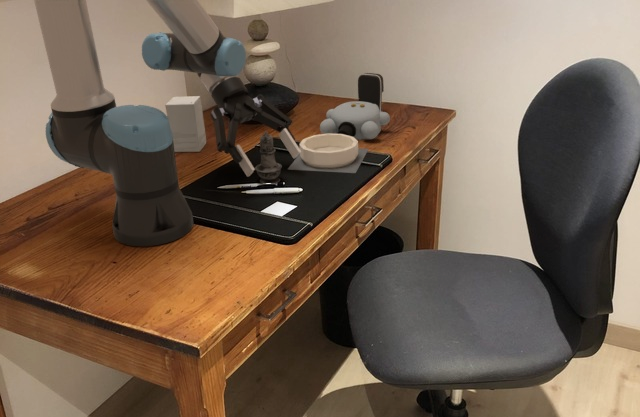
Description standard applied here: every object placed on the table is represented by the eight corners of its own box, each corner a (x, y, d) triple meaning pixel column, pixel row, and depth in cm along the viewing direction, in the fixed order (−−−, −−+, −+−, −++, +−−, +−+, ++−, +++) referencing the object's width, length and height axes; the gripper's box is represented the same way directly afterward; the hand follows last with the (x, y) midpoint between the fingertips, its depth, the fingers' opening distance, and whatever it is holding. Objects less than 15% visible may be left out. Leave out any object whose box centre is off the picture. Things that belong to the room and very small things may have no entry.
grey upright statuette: (286, 177, 151) (282, 126, 145) (278, 188, 145) (274, 135, 140) (261, 176, 152) (257, 125, 147) (252, 186, 147) (247, 134, 142)
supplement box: (207, 142, 175) (201, 95, 170) (200, 152, 168) (193, 103, 163) (179, 142, 176) (173, 95, 171) (171, 152, 169) (164, 104, 164)
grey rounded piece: (335, 119, 187) (311, 151, 171) (333, 91, 183) (308, 120, 167) (396, 123, 181) (377, 156, 166) (395, 94, 177) (375, 124, 161)
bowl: (351, 170, 152) (350, 154, 150) (294, 167, 155) (293, 151, 153) (362, 150, 163) (362, 134, 162) (309, 147, 167) (308, 132, 165)
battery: (385, 112, 193) (385, 73, 188) (379, 116, 190) (379, 76, 185) (363, 109, 196) (362, 71, 191) (357, 113, 193) (356, 74, 188)
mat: (355, 174, 150) (355, 172, 150) (287, 170, 154) (287, 169, 154) (368, 150, 164) (368, 148, 164) (306, 147, 168) (306, 145, 168)
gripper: (260, 84, 160) (307, 156, 156) (172, 108, 144) (223, 190, 140) (273, 64, 154) (323, 139, 151) (183, 88, 138) (237, 172, 135)
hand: (275, 164), depth 145 cm, fingers open, 13 cm apart
